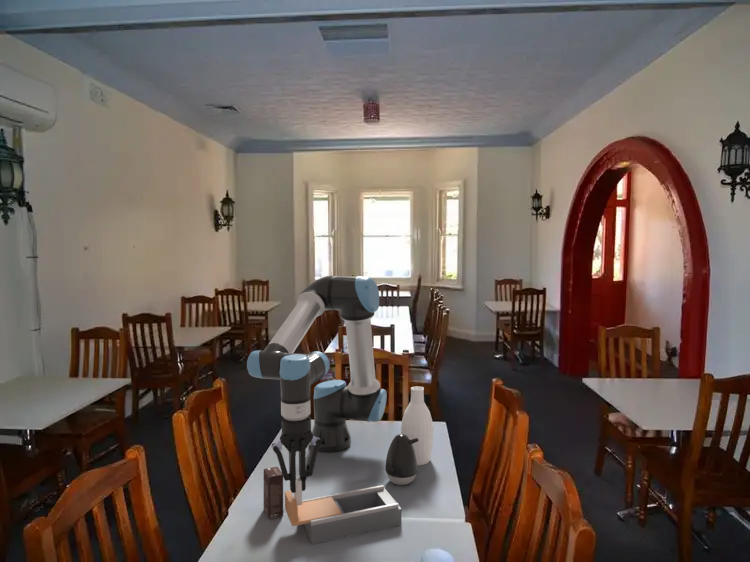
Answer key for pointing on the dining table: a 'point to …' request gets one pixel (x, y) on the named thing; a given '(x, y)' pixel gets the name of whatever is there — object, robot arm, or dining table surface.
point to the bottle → (418, 425)
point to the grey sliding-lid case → (356, 514)
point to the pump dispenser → (401, 460)
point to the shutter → (309, 509)
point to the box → (273, 492)
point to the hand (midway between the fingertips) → (298, 502)
